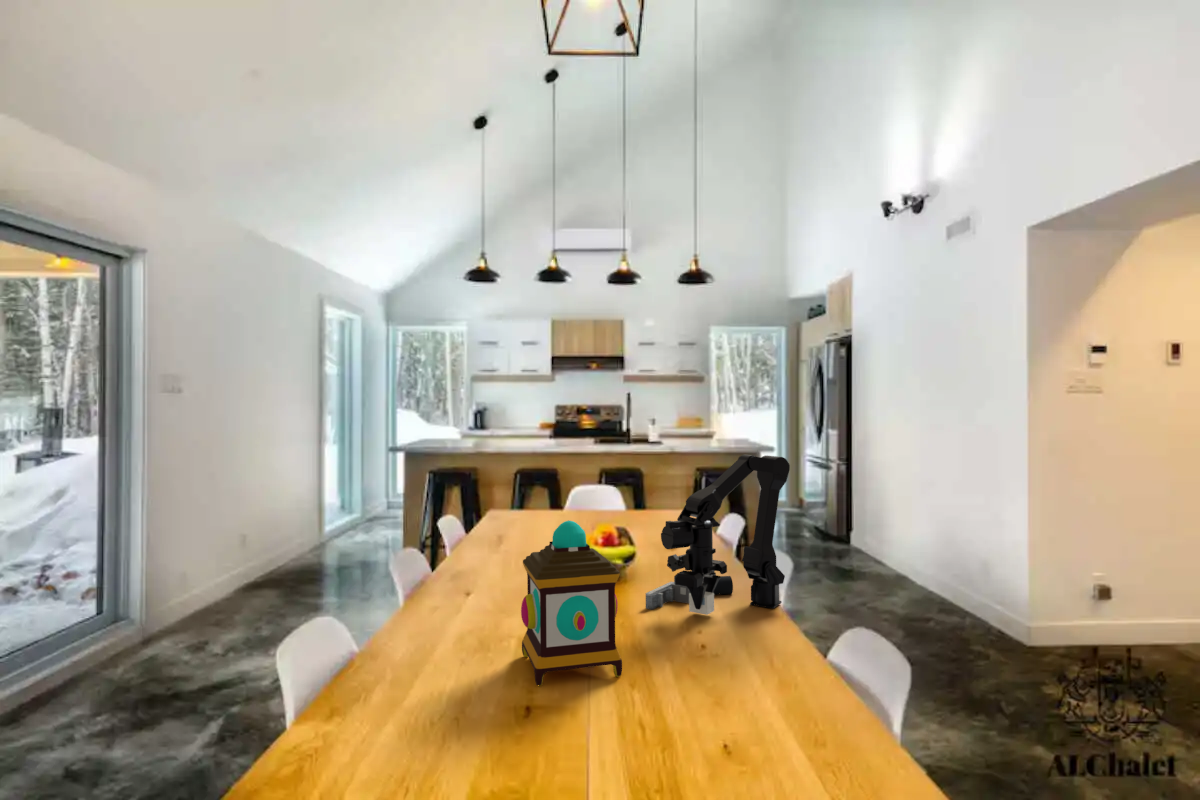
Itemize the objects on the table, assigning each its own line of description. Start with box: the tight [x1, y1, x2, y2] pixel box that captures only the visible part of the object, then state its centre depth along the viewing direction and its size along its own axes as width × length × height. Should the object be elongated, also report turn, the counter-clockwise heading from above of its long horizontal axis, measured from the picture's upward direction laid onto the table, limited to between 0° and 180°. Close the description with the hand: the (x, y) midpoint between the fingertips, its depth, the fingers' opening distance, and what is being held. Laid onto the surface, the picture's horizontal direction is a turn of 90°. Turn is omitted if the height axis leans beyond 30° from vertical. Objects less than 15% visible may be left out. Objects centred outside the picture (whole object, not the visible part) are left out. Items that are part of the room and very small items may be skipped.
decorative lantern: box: [520, 520, 623, 687], centre depth 142 cm, size 20×20×30 cm
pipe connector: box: [690, 570, 734, 596], centre depth 198 cm, size 12×5×15 cm
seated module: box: [672, 583, 690, 604], centre depth 189 cm, size 5×4×4 cm
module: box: [688, 592, 715, 616], centre depth 175 cm, size 5×4×4 cm
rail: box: [645, 581, 675, 611], centre depth 186 cm, size 3×14×4 cm, turn 146°
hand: (701, 606), depth 175 cm, fingers closed on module, 4 cm apart
